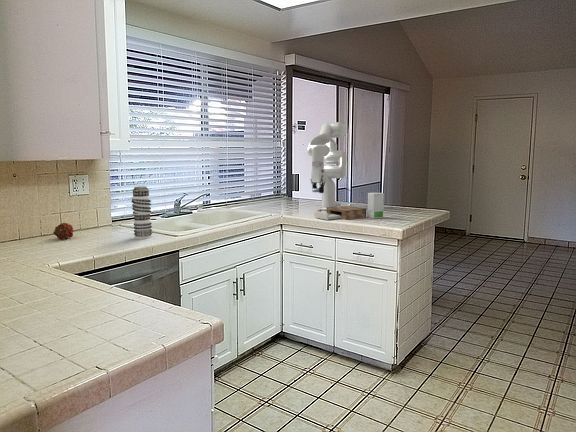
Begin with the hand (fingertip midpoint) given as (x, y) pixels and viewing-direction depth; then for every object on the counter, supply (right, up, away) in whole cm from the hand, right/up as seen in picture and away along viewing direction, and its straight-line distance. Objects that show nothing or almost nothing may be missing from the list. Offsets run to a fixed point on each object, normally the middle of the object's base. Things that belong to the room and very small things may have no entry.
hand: (318, 192), depth 294 cm
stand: (0, -15, +2) cm, 15 cm away
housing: (+17, -16, -4) cm, 24 cm away
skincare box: (+35, -17, -10) cm, 40 cm away
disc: (0, 0, 0) cm, 0 cm away
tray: (+7, -16, -10) cm, 21 cm away
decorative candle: (-91, -26, -67) cm, 116 cm away
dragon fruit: (-130, -27, -69) cm, 149 cm away
